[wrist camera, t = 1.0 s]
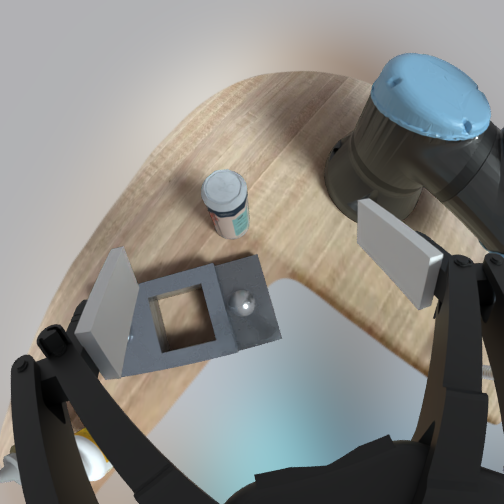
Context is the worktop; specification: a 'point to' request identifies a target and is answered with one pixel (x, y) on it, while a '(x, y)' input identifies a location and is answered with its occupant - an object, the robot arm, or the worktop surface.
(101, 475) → the supplement bottle
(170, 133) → the worktop surface
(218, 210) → the beer can
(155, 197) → the worktop surface
